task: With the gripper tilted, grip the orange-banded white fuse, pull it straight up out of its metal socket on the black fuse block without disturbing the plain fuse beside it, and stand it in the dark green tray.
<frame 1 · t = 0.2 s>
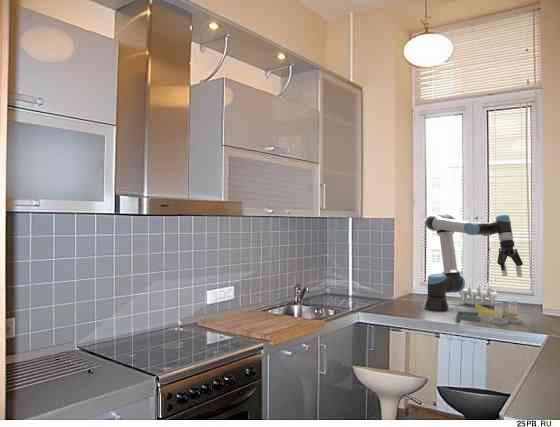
hand: (512, 276, 264), 28 cm above the counter, tool tilted 15°, fingers open, 13 cm apart
plastic component: (491, 317, 283), on the counter
tray: (468, 320, 272), on the counter
plain fuse: (498, 323, 259), point 1 cm above the counter, touching fuse block
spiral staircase: (477, 305, 320), on the counter
marked fuse: (512, 321, 263), point 1 cm above the counter, touching fuse block
fuse block: (505, 325, 261), on the counter
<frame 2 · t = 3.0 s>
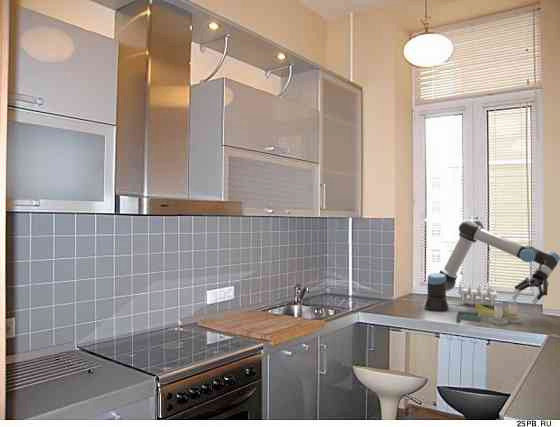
hand: (523, 300, 265), 13 cm above the counter, tool tilted 45°, fingers open, 13 cm apart
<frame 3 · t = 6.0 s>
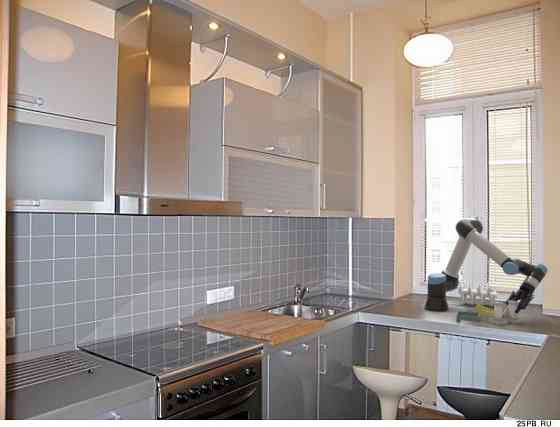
hand: (507, 315, 262), 5 cm above the counter, tool tilted 45°, fingers closed on marked fuse, 4 cm apart
marked fuse: (512, 321, 263), point 1 cm above the counter, touching fuse block, gripper
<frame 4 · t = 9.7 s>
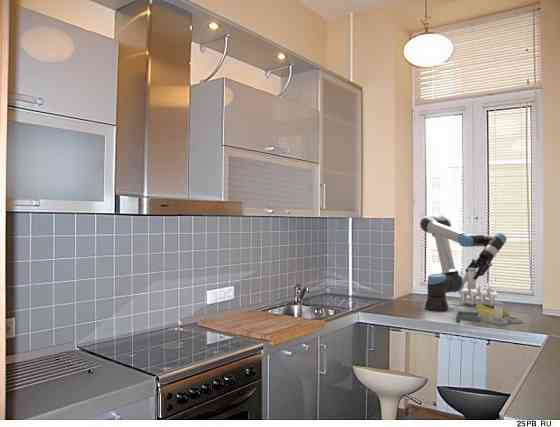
hand: (466, 282, 270), 23 cm above the counter, tool tilted 45°, fingers closed on marked fuse, 4 cm apart
marked fuse: (471, 288, 271), point 19 cm above the counter, touching gripper
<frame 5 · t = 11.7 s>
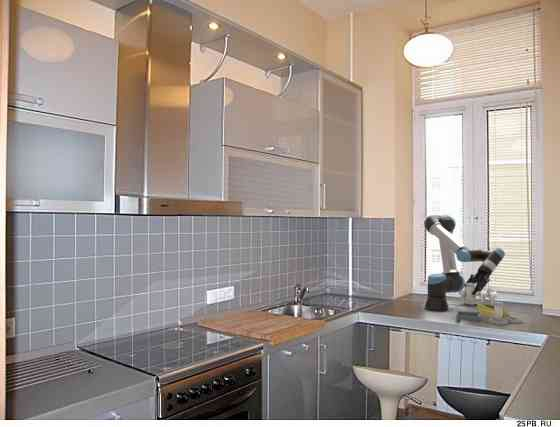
hand: (465, 297, 269), 14 cm above the counter, tool tilted 45°, fingers closed on marked fuse, 4 cm apart
marked fuse: (470, 303, 271), point 10 cm above the counter, touching gripper
when the fingers open (6 cm above the counter, at t = 13.5 s): marked fuse drops 2 cm, resting on tray.
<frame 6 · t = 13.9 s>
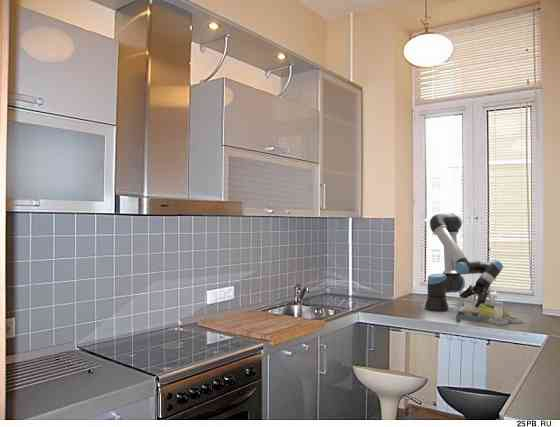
hand: (464, 308, 271), 7 cm above the counter, tool tilted 45°, fingers open, 11 cm apart
marked fuse: (468, 318, 272), point 1 cm above the counter, touching tray
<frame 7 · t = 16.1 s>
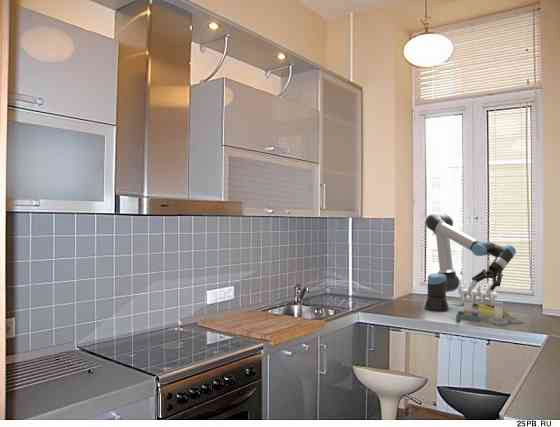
hand: (478, 291, 274), 17 cm above the counter, tool tilted 45°, fingers open, 13 cm apart
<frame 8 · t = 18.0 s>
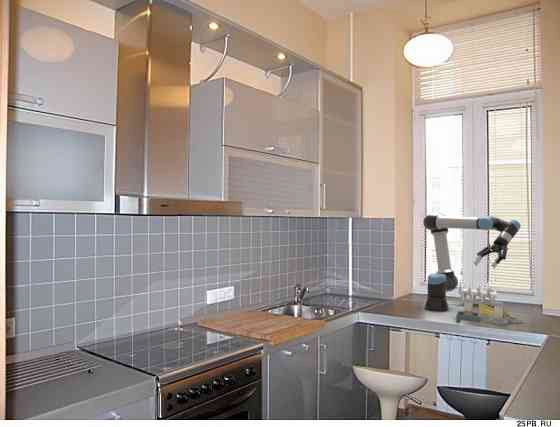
hand: (483, 265, 275), 33 cm above the counter, tool tilted 45°, fingers open, 13 cm apart
at the end: marked fuse inside the target area on the tray (0.0 cm from its centre), point 1.0 cm above the tray's base; plain fuse moved 0.0 cm from its start; the gripper is holding nothing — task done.
